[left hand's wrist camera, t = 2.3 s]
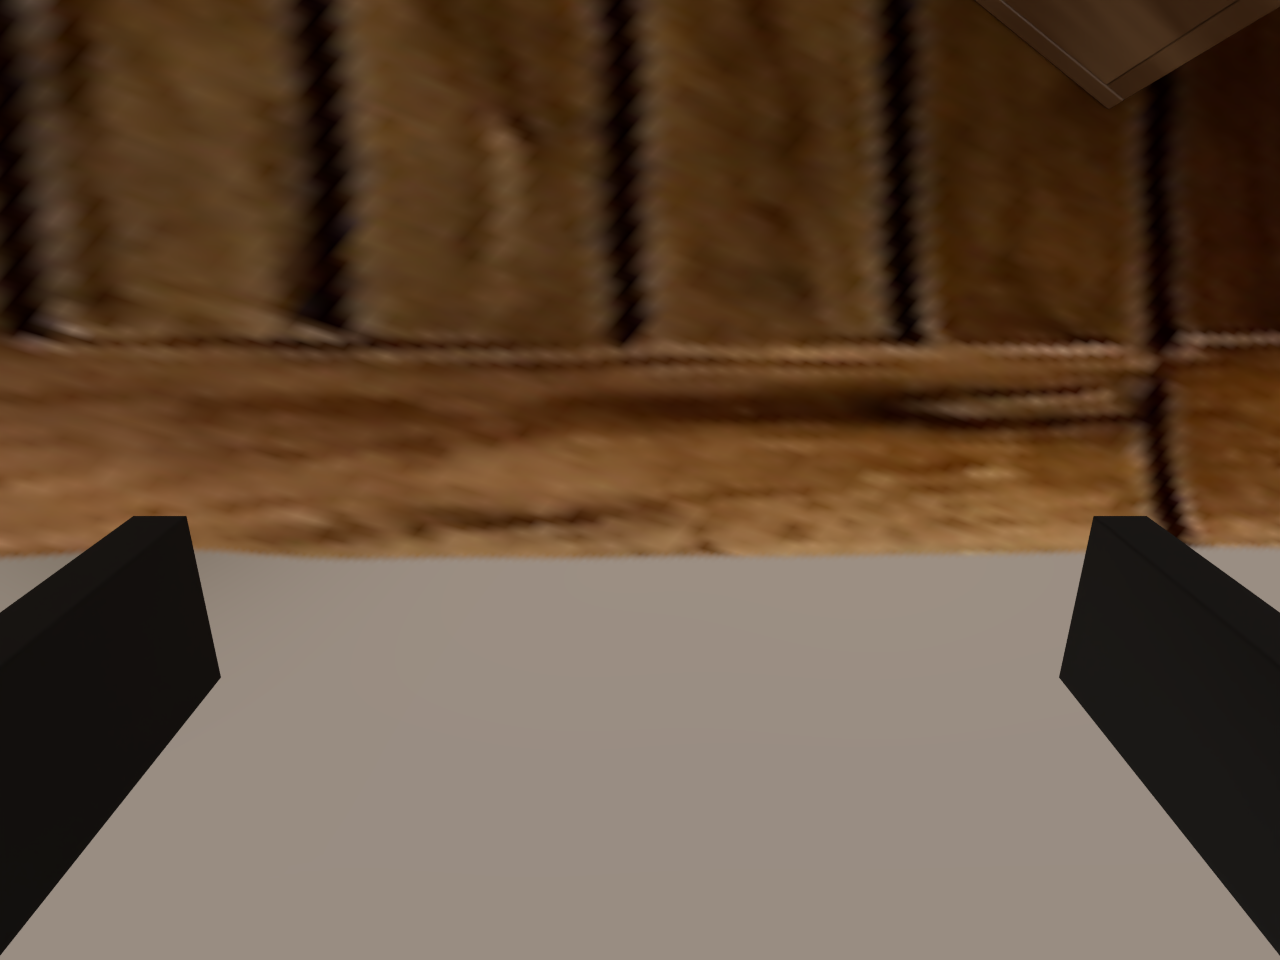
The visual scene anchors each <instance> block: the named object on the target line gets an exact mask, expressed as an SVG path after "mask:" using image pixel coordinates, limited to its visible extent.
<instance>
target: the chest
mask: <svg viewBox="0 0 1280 960" xmlns="http://www.w3.org/2000/svg"><path fill="white" fill-rule="evenodd" d="M975 1H976V2H977V3H979V4H980V5H981V6H982V7H984V8H985V9H986V10H987V11H989V12H990V13H991V14H992V15H993V16H995V17H996V18H997V19H998V20H1000V21H1001V22H1002V23H1003V24H1004V25H1006V26H1007V27H1008V28H1009V29H1011V30H1012V31H1013V32H1014V33H1015V34H1017V35H1018V36H1019V37H1020V38H1022V39H1023V40H1024V41H1025V42H1027V43H1028V44H1029V45H1030V46H1031V47H1033V48H1034V49H1035V50H1036V51H1038V52H1039V53H1040V54H1041V55H1042V56H1044V57H1045V58H1046V59H1047V60H1049V61H1050V62H1051V63H1052V64H1053V65H1055V66H1056V67H1057V68H1058V69H1060V70H1061V71H1062V72H1063V73H1065V74H1066V75H1067V76H1068V77H1069V78H1071V79H1072V80H1073V81H1074V82H1076V83H1077V84H1078V85H1079V86H1080V87H1082V88H1083V89H1084V90H1085V91H1087V92H1088V93H1089V94H1090V95H1091V96H1093V97H1094V98H1095V99H1096V100H1098V101H1099V102H1100V103H1101V104H1102V105H1104V106H1105V107H1106V108H1108V109H1110V108H1112V107H1113V106H1115V105H1117V104H1118V103H1120V102H1122V101H1123V100H1124V99H1126V98H1128V97H1130V96H1131V95H1133V94H1135V93H1136V92H1138V91H1140V90H1141V89H1143V88H1145V87H1146V86H1148V85H1150V84H1151V83H1153V82H1155V81H1156V80H1158V79H1160V78H1161V77H1163V76H1165V75H1166V74H1168V73H1170V72H1171V71H1173V70H1175V69H1176V68H1178V67H1180V66H1181V65H1183V64H1185V63H1186V62H1188V61H1190V60H1192V59H1193V58H1195V57H1197V56H1198V55H1200V54H1202V53H1203V52H1205V51H1207V50H1208V49H1210V48H1212V47H1213V46H1215V45H1217V44H1218V43H1220V42H1222V41H1223V40H1225V39H1227V38H1228V37H1230V36H1232V35H1233V34H1235V33H1237V32H1238V31H1240V30H1242V29H1243V28H1245V27H1247V26H1248V25H1250V24H1252V23H1253V22H1255V21H1257V20H1258V19H1260V18H1262V17H1263V16H1265V15H1267V14H1268V13H1270V12H1272V11H1273V10H1275V9H1277V8H1278V7H1280V0H975Z"/></svg>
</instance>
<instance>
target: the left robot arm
mask: <svg viewBox="0 0 1280 960" xmlns="http://www.w3.org/2000/svg"><path fill="white" fill-rule="evenodd" d="M220 678H221V676H220V671H219V667H218V662H217V657H216V652H215V648H214V643H213V638H212V634H211V629H210V624H209V620H208V615H207V610H206V606H205V601H204V596H203V592H202V587H201V582H200V578H199V573H198V568H197V564H196V559H195V554H194V550H193V545H192V540H191V536H190V531H189V526H188V522H187V517H186V516H133V517H132V518H130V519H129V520H127V521H126V522H125V523H123V524H122V525H121V526H119V527H118V528H116V529H115V530H114V531H112V532H111V533H109V534H108V535H107V536H105V537H104V538H103V539H101V540H100V541H98V542H97V543H96V544H94V545H93V546H92V547H90V548H89V549H87V550H86V551H85V552H83V553H82V554H80V555H79V556H78V557H76V558H75V559H74V560H72V561H71V562H70V563H68V564H67V565H65V566H64V567H63V568H61V569H60V570H58V571H57V572H56V573H54V574H53V575H52V576H50V577H49V578H47V579H46V580H45V581H43V582H42V583H40V584H39V585H38V586H36V587H35V588H34V589H32V590H31V591H29V592H28V593H27V594H25V595H24V596H23V597H21V598H20V599H18V600H17V601H16V602H14V603H13V604H11V605H10V606H9V607H7V608H6V609H5V610H3V611H2V612H1V613H0V955H1V954H2V952H3V951H4V950H5V949H6V947H7V946H8V945H9V944H10V942H11V941H12V940H13V939H14V937H15V936H16V935H17V934H18V932H19V931H20V930H21V929H22V927H23V926H24V925H25V924H26V922H27V921H28V920H29V918H30V917H31V916H32V915H33V913H34V912H35V911H36V910H37V908H38V907H39V906H40V905H41V903H42V902H43V901H44V900H45V898H46V897H47V896H48V895H49V893H50V892H51V891H52V889H53V888H54V887H55V886H56V884H57V883H58V882H59V881H60V879H61V878H62V877H63V876H64V874H65V873H66V872H67V871H68V869H69V868H70V867H71V866H72V864H73V863H74V862H75V861H76V859H77V858H78V857H79V855H80V854H81V853H82V852H83V850H84V849H85V848H86V847H87V845H88V844H89V843H90V842H91V840H92V839H93V838H94V837H95V835H96V834H97V833H98V832H99V830H100V829H101V828H102V827H103V825H104V824H105V823H106V821H107V820H108V819H109V818H110V816H111V815H112V814H113V813H114V811H115V810H116V809H117V808H118V806H119V805H120V804H121V803H122V801H123V800H124V799H125V798H126V796H127V795H128V794H129V792H130V791H131V790H132V789H133V787H134V786H135V785H136V784H137V782H138V781H139V780H140V779H141V777H142V776H143V775H144V774H145V772H146V771H147V770H148V769H149V767H150V766H151V765H152V764H153V762H154V761H155V760H156V758H157V757H158V756H159V755H160V753H161V752H162V751H163V750H164V748H165V747H166V746H167V745H168V743H169V742H170V741H171V740H172V738H173V737H174V736H175V734H176V733H177V732H178V731H179V729H180V728H181V727H182V726H183V724H184V723H185V722H186V721H187V719H188V718H189V717H190V716H191V714H192V713H193V712H194V711H195V709H196V708H197V707H198V706H199V704H200V703H201V702H202V700H203V699H204V698H205V697H206V695H207V694H208V693H209V692H210V690H211V689H212V688H213V687H214V685H215V684H216V683H217V682H218V680H219V679H220ZM1059 678H1060V679H1061V680H1062V681H1063V683H1064V684H1065V685H1066V687H1067V688H1068V689H1069V690H1070V692H1071V693H1072V694H1073V695H1074V697H1075V698H1076V699H1077V700H1078V702H1079V703H1080V704H1081V705H1082V707H1083V708H1084V709H1085V711H1086V712H1087V713H1088V714H1089V716H1090V717H1091V718H1092V719H1093V721H1094V722H1095V723H1096V724H1097V726H1098V727H1099V728H1100V729H1101V731H1102V732H1103V733H1104V735H1105V736H1106V737H1107V738H1108V740H1109V741H1110V742H1111V743H1112V745H1113V746H1114V747H1115V748H1116V750H1117V751H1118V752H1119V753H1120V755H1121V756H1122V757H1123V758H1124V760H1125V761H1126V762H1127V764H1128V765H1129V766H1130V767H1131V769H1132V770H1133V771H1134V772H1135V774H1136V775H1137V776H1138V777H1139V779H1140V780H1141V781H1142V782H1143V784H1144V785H1145V786H1146V787H1147V789H1148V790H1149V791H1150V792H1151V794H1152V795H1153V796H1154V797H1155V799H1156V800H1157V801H1158V803H1159V804H1160V805H1161V806H1162V808H1163V809H1164V810H1165V811H1166V813H1167V814H1168V815H1169V816H1170V818H1171V819H1172V820H1173V821H1174V823H1175V824H1176V825H1177V826H1178V828H1179V829H1180V830H1181V832H1182V833H1183V834H1184V835H1185V837H1186V838H1187V839H1188V840H1189V842H1190V843H1191V844H1192V845H1193V847H1194V848H1195V849H1196V850H1197V852H1198V853H1199V854H1200V855H1201V857H1202V858H1203V859H1204V860H1205V862H1206V863H1207V864H1208V866H1209V867H1210V868H1211V869H1212V871H1213V872H1214V873H1215V874H1216V876H1217V877H1218V878H1219V879H1220V881H1221V882H1222V883H1223V884H1224V886H1225V887H1226V888H1227V889H1228V891H1229V892H1230V893H1231V895H1232V896H1233V897H1234V898H1235V900H1236V901H1237V902H1238V903H1239V905H1240V906H1241V907H1242V908H1243V910H1244V911H1245V912H1246V913H1247V915H1248V916H1249V917H1250V918H1251V920H1252V921H1253V922H1254V923H1255V925H1256V926H1257V927H1258V929H1259V930H1260V931H1261V932H1262V934H1263V935H1264V936H1265V937H1266V939H1267V940H1268V941H1269V942H1270V944H1271V945H1272V946H1273V947H1274V949H1275V950H1276V951H1277V952H1278V954H1279V955H1280V612H1278V611H1277V610H1275V609H1274V608H1273V607H1271V606H1270V605H1268V604H1267V603H1266V602H1264V601H1263V600H1262V599H1260V598H1259V597H1257V596H1256V595H1255V594H1253V593H1252V592H1251V591H1249V590H1248V589H1246V588H1245V587H1244V586H1242V585H1241V584H1239V583H1238V582H1237V581H1235V580H1234V579H1233V578H1231V577H1230V576H1228V575H1227V574H1226V573H1224V572H1223V571H1221V570H1220V569H1219V568H1217V567H1216V566H1215V565H1213V564H1212V563H1211V562H1209V561H1208V560H1206V559H1205V558H1204V557H1202V556H1201V555H1200V554H1198V553H1197V552H1195V551H1194V550H1193V549H1191V548H1190V547H1188V546H1187V545H1186V544H1184V543H1183V542H1182V541H1180V540H1179V539H1177V538H1176V537H1175V536H1173V535H1172V534H1171V533H1169V532H1168V531H1166V530H1165V529H1164V528H1162V527H1161V526H1159V525H1158V524H1157V523H1155V522H1154V521H1153V520H1151V519H1150V518H1148V517H1147V516H1094V517H1093V522H1092V526H1091V531H1090V536H1089V540H1088V545H1087V550H1086V554H1085V559H1084V564H1083V568H1082V573H1081V578H1080V582H1079V587H1078V592H1077V596H1076V601H1075V606H1074V610H1073V615H1072V620H1071V624H1070V629H1069V634H1068V639H1067V643H1066V648H1065V652H1064V657H1063V662H1062V666H1061V671H1060V676H1059Z"/></svg>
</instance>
